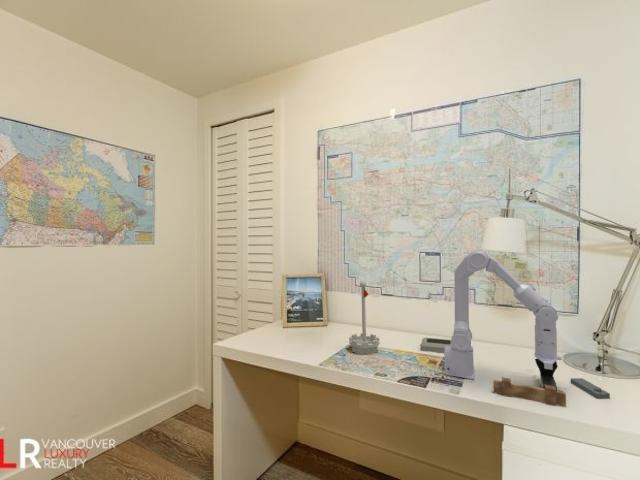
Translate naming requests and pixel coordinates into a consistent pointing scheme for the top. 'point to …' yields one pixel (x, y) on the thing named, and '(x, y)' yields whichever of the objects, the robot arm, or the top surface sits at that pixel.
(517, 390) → the brown wooden bar
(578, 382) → the bracket
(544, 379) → the block
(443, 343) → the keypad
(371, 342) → the flag stand
